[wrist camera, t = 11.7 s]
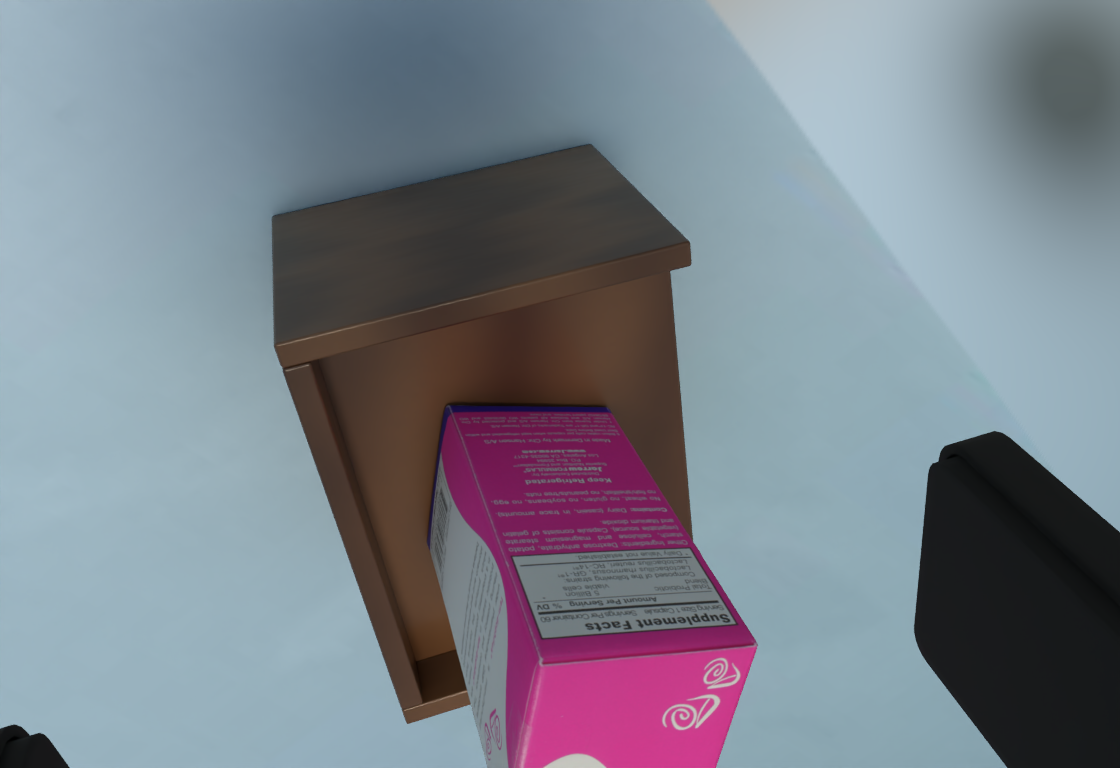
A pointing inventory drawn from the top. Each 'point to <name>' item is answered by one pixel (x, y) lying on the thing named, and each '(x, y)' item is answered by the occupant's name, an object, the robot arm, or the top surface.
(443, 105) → the top surface
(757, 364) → the top surface
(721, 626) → the supplement box
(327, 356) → the wooden crate
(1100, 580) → the robot arm
